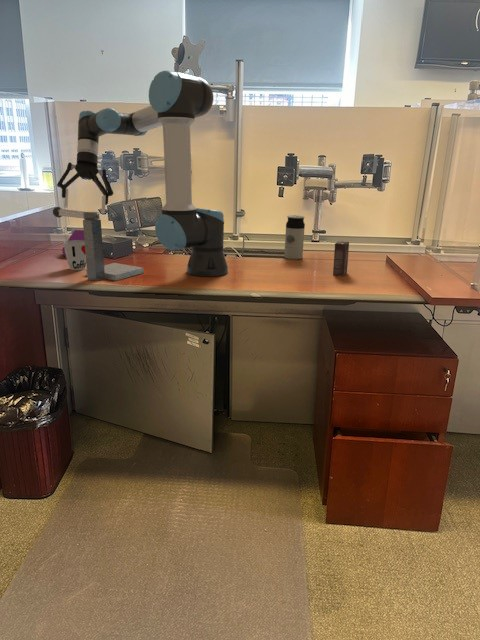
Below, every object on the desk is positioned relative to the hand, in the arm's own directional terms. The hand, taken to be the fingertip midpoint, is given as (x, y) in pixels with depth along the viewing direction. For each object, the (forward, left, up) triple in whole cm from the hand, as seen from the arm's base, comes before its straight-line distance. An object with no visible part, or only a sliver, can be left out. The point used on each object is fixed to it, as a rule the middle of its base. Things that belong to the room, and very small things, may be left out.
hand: (84, 209), depth 174 cm
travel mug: (-61, -60, -21) cm, 88 cm away
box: (-88, -42, -21) cm, 99 cm away
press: (-21, +9, -21) cm, 31 cm away
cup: (-4, +9, -21) cm, 23 cm away
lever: (-13, +16, -1) cm, 21 cm away
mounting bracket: (+16, -10, -21) cm, 28 cm away
